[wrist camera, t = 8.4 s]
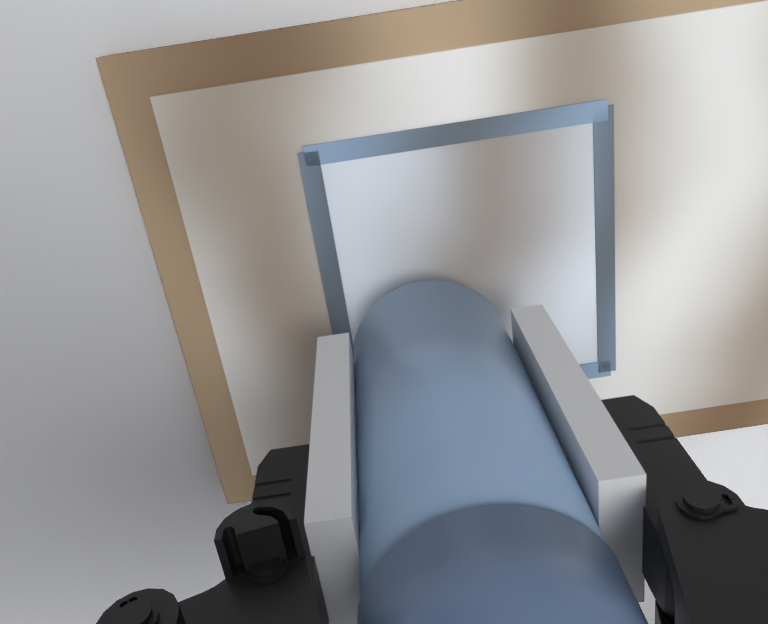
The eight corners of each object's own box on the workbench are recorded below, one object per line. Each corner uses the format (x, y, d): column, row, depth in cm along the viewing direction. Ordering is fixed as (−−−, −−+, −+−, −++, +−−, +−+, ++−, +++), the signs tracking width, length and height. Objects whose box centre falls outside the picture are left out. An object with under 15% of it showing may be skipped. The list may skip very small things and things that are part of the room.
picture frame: (229, 493, 22) (226, 508, 22) (102, 56, 17) (92, 59, 16) (871, 397, 22) (887, 410, 22) (952, -77, 17) (976, -80, 16)
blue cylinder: (364, 429, 20) (385, 896, 10) (339, 291, 18) (334, 686, 8) (514, 406, 20) (693, 854, 10) (504, 266, 18) (709, 632, 8)
